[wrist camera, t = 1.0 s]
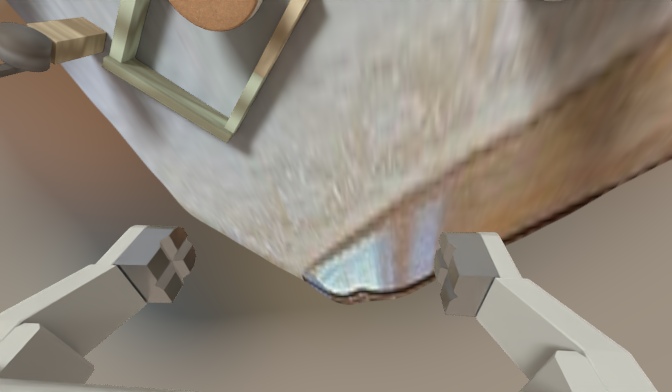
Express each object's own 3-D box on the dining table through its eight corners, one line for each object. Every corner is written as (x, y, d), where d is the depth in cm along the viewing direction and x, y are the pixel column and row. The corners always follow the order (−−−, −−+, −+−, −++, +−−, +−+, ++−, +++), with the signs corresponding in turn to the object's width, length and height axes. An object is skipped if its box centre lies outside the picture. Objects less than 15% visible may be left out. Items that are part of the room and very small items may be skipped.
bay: (170, -147, 29) (147, -163, 25) (317, -15, 34) (313, -15, 31) (121, 60, 41) (101, 66, 38) (236, 132, 46) (226, 143, 43)
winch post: (78, 14, 38) (-34, 26, 27) (110, 35, 39) (15, 54, 28) (75, 42, 40) (-31, 63, 29) (105, 60, 41) (14, 87, 30)
